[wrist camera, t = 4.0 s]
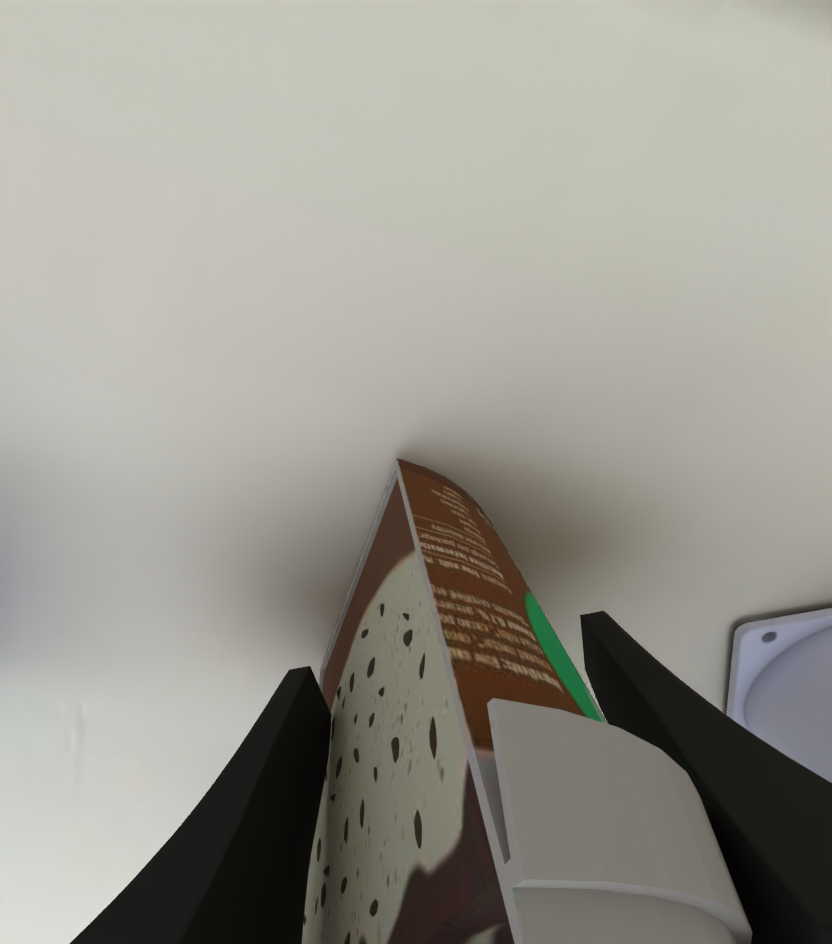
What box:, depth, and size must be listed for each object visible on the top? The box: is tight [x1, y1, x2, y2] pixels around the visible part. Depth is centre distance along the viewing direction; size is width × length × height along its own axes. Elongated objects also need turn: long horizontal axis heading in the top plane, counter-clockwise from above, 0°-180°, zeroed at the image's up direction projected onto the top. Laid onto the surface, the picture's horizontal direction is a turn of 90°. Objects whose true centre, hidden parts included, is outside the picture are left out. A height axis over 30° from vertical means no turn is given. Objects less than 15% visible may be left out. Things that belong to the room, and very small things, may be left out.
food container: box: [302, 458, 752, 944], centre depth 11 cm, size 12×6×10 cm, turn 161°
